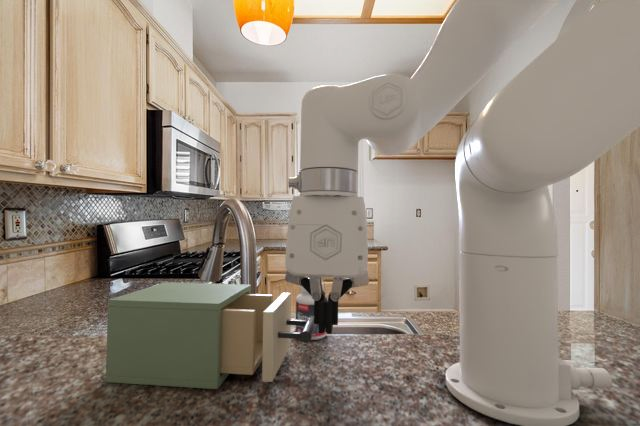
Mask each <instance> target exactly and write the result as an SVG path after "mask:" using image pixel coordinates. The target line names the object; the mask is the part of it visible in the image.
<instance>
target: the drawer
mask: <svg viewBox="0 0 640 426" xmlns="http://www.w3.org/2000/svg"><path fill="white" fill-rule="evenodd" d="M291 310H292V293H291V292H282V293H281V294H280V295H279V296H278V297H277V298H276V299H274V295H273V294H260V293H251V294H244V295H242V296H240V297H239V298H237V299H236V300H234V301H233V302H231V303H230V304H228V305H226V306H225V307H223V308H222V309H221V349H220V373H228V374H229V375H231V374H232V375H245V376H253V375H254V374H255V372H256V370H257V369H258V368H259V366H260V365H261V366H262V368H261V371H262V372H261V381H262V382H265V383H267V382H270V383H272V382H273V381H274V379H275V378H276V375H277V374H278V371H279V370H280V368H281V366H282V363H283V362H284V360H285V358H286V356H287V354H288V352H289V350H290V348H291V339H294V340H295V339H297V340H300V342H301V343H303V344H309V343H310V342H311V341H312V340H311V338H312V335H313V333H314V330H315V327H316V324H314V317H310V318H308V319H307V320H296V319H291V316H292V311H291ZM295 325H302V326H304V328H303V330H302V332H301V333H300V332H295V331H291V326H295Z"/></svg>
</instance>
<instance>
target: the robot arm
mask: <svg viewBox="0 0 640 426" xmlns="http://www.w3.org/2000/svg"><path fill="white" fill-rule="evenodd" d="M562 1H563V0H455V2H454V4H453V5H452V6H451V8H450V9H449V11H448V13H447V15H446V16H445V18H444V20H443V22H442V24H441V26H440V28H439V30H438V32H437V34H436V36H435V39H434V41H433V44H432V45H431V47H430V49H429V51H428V52H427V54H426V56H425V58H424V59H423V61H422V62H421V63H420V65H419V67H418V68H417V69H416V71H415V72H414V73H413V74H412V75H411V77H409V76H406V75H404V74H399V73H387V74H381V75H377V76H372V77H370V78H366V79H364V80H360V81H356V82H353V83H350V84H347V85H346V84H345V85H332V84H330V85H329V84H328V85H320V86H316V87H312V88H311V89H309V90H308V91H306V93H305V94H304V95H303V98H302V100H301V109H300V114H301V115H300V158H299V159H300V160H299V171H298V175H296V176H294V177H289V178H288V188H289V189H294V190H297V191H298V195H293V196H292V200H291V203H290V204H291V205H290V209H289V215H288V224H287V233H286V243H285V246H286V247H285V255H284V256H285V258H284V259H285V261H284V262H285V270H286V272H285V276H284V280H285V282H287V283H291V284H293V285H297V286H300V285H301V286H303V288H304V289H305V290H306V291H307V292H308V293H309V294H310V295H311V296H312V299H313V300H314V324H319V333H323V332H325V329H326V335H332V333H333V328H334V326H338V325H339V300H341V298H342V297H343V296H344V295H345V294H346V293H347V292H348V291H349V290H350V289H352V288H353V289H354V288H358V287H363V286H367V285H368V284H370V279H369V274H368V263H369V242H368V219H367V211H366V204H365V200H364V197H363V196H359V194H358V193H359V192H358V191H359V190H358V189H359V143H360V141H361V140H366V142H367V144H368V145H369V146H370V148H371V149H372V150H373V151H375V152H376V153H378V154H380V155H383V156H389V157H390V156H398V155H401V154H403V153H405V152H407V151H408V150H410V149H411V148H413V146H415V145H416V144H417V143H418V142H420V140H421V139H422V138H423V137H425V136H426V135H427V134H428V133H429V132H430V131H431V130H433V128H435V127H436V126H437V125H438V124H439V123H440V121H442V120H443V119H444V118H445V117H446V116H447V115H448V114H449V113H450V112H451V111H452V110H453V109H454V108H455V107H456V106H457V104H459V102H460V101H461V100H462V99H463V98H464V97H465V96H466V95H467V94H468V93H470V91H471V90H472V89H473V88H474V87H475V86H476V85H477V84H479V82H481V81H482V79H484V78H485V77H486V75H488V73H490V71H491V70H492V69H493V68H494V67H496V65H497V64H498V63H499V62H500V60H501V59H502V58H504V56H506V54H507V53H509V51H510V50H511V49H512V48H513V47H514V46H515V45H516V44H517V43H519V42H520V41H521V40H522V39H523V38H524V37H525V36H526V35H528V33H529V32H530V31H532V30H533V28H535V26H537V25H538V24H539V23H540V22H541V21H542V20H543V19H544V18H545V17H546V16H547V15H548V14H550V12H551V11H553V10H554V9H555V8H556V7H557V6H558V5H559V4H560V3H562ZM639 127H640V0H600V1H599V2H598V3H596V4H595V5H594V6H593V7H592V8H591V9H589V10H588V11H587V12H586V13H585V14H583V15H582V16H581V17H580V18H579V19H578V20H577V21H575V23H573V24H572V25H571V26H570V27H569V28H567V30H566V31H565V32H563V33H562V35H560V36H559V37H558V38H557V39H555V40H554V41H553V42H552V43H551V44H550V45H549V46H548V47H546V48H545V49H544V50H543V51H542V52H541V53H540V54H539V55H538V56H537V57H535V58H534V59H533V60H532V61H531V62H529V64H527V65H526V66H525V67H524V68H523V69H522V70H521V71H520V72H519V73H517V74H516V75H515V76H514V77H513V78H512V79H511V80H509V81H508V82H507V83H506V84H505V85H504V86H503V87H502V88H500V89H499V91H497V92H496V93H495V94H494V95H493V97H492V98H491V99H490V100H489V101H488V103H486V105H485V106H484V107H483V108H482V110H481V112H480V113H479V114H478V116H477V117H476V118H475V119H474V121H473V122H472V123H471V125H470V126H469V128H468V129H467V130H466V132H465V133H464V134H463V137H462V138H461V140H460V142H459V145H458V148H457V151H456V154H455V155H456V156H455V160H454V161H455V163H454V175H455V178H454V179H455V188H456V198H457V210H458V288H459V290H458V292H459V293H458V294H459V295H458V296H459V297H458V298H459V299H458V301H459V303H458V304H459V310H458V311H459V361H458V362H456V363H453V364H451V365H450V366H448V367H447V369H446V370H445V385H446V387H447V389H448V392H449V393H450V394H451V395H452V396H453V397H454V398H455V399H457V400H458V401H459V402H460V403H462V404H463V405H465V406H466V407H468V408H470V409H472V410H473V411H476V412H478V413H479V414H482V415H483V416H486V417H489V418H492V419H494V420H498V421H500V422H504V423H508V424H509V425H510V424H511V425H515V426H570V425H572V424H574V423H575V422H576V421H578V419H579V417H580V402H579V400H578V397H577V395H575V393H574V392H573V391H577V390H579V389H580V388H581V387H588V388H591V389H592V388H593V389H607V390H608V389H610V388H612V386H613V378H612V376H611V374H610V372H609V371H608V370H607V369H606V368H605V367H604V368H603V367H586V366H585V367H584V366H583V367H581V366H580V364H579V362H578V361H577V360H574V359H572V360H571V359H562V358H560V354H559V353H560V347H559V346H560V342H559V341H560V339H559V337H560V336H559V290H558V289H559V287H558V285H559V284H558V283H559V282H558V255H559V252H558V251H559V250H558V246H559V245H558V229H557V222H556V221H557V220H556V215H555V210H554V207H553V202H552V199H551V195H550V190H549V186H551V185H554V184H556V183H559V182H562V181H565V180H567V179H568V178H570V177H572V176H574V175H576V174H578V173H580V172H581V171H583V170H585V168H587V167H588V166H589V165H591V164H593V162H596V161H597V160H598V159H600V158H601V157H602V156H603V155H605V154H606V153H607V152H609V151H610V150H612V148H614V147H615V146H616V145H618V144H619V143H620V142H621V141H623V140H624V139H625V138H626V137H628V136H629V135H630V134H631V133H633V132H634V131H635V130H637V129H638V128H639ZM322 278H332V283H331V284H332V285H331V290H330V292H329V293H328V296H326V292H325V291H324V290H323V286H322V282H323V279H322ZM325 296H326V297H325ZM572 390H573V391H572Z"/></svg>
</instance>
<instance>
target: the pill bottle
mask: <svg viewBox="0 0 640 426" xmlns="http://www.w3.org/2000/svg"><path fill="white" fill-rule="evenodd" d="M322 286H323V291H324V290H325V287H324V286H325V284H324V281H322ZM299 291H300V293H299V294H298V295H297V296H296V298H295V299H296V300H295V320H307V319H308V318H310V317H314V300H313V299H312V296H311V295H310V294H309V293H308V292H307V291H306V290H305V289H304V288H303V286H301V285H299ZM325 297H327V296H326V295H325ZM303 328H304V326H302V325H294V332H300V333H301V332H302V330H303ZM326 337H327V333H326V329H325V332H323V333H319V324H316V327H315V330H314V333H313V335H312V338H311V341H318V340H321V339H324V338H326Z"/></svg>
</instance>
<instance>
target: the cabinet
mask: <svg viewBox="0 0 640 426" xmlns="http://www.w3.org/2000/svg"><path fill="white" fill-rule="evenodd" d="M244 294H252V285H251V284H243V283H241V284H239V283H238V284H237V283H236V284H235V283H208V282H207V283H204V282H174V281H173V282H170V281H165V282H162V283H157V284H155V285H152V286H149V287H146V288H145V287H144V288H143V289H140V290H136V291H132V292H129V293H126V294H123V295H120V296H117V297H113V298H110V299H108V300H107V324H106V325H107V327H106V356H105V357H106V359H105V361H106V362H105V383H111V384H112V383H113V384H127V385H128V384H129V385H145V386H161V387H175V388H176V387H177V388H192V389H206V390H207V389H208V390H218V389H219V388H220V386H221V385H222V384H223V383H224V381H225V380H226V379H227V378H228V377H229V375H230V374H228V373H220V349H221V309H222V308H223V307H225V306H226V305H228V304H230V303H231V302H233V301H234V300H236V299H237V298H239V297H240V296H242V295H244Z"/></svg>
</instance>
